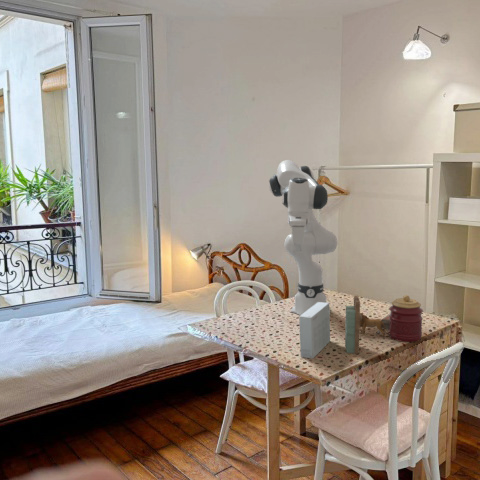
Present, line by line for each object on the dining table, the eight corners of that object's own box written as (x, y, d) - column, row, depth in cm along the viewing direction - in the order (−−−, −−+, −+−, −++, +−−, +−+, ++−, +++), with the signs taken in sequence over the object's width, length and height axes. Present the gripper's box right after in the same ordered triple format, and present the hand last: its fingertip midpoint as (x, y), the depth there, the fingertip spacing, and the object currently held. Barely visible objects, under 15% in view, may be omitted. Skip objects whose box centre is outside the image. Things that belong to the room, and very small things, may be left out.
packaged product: (399, 321, 213) (376, 318, 218) (399, 332, 214) (376, 328, 219) (412, 311, 227) (390, 307, 233) (411, 321, 228) (389, 318, 234)
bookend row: (345, 344, 199) (345, 295, 196) (356, 345, 199) (357, 295, 196) (346, 353, 190) (347, 301, 187) (358, 353, 190) (360, 302, 187)
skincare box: (317, 339, 206) (318, 301, 204) (330, 341, 204) (331, 302, 201) (298, 356, 188) (298, 315, 185) (312, 359, 185) (312, 317, 183)
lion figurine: (352, 334, 211) (352, 314, 209) (353, 330, 216) (353, 310, 214) (389, 337, 207) (389, 316, 205) (388, 333, 212) (389, 312, 210)
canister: (390, 342, 202) (392, 299, 199) (386, 331, 214) (387, 290, 212) (424, 343, 200) (426, 299, 197) (418, 332, 212) (419, 291, 210)
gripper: (291, 216, 212) (291, 248, 214) (289, 222, 192) (289, 257, 194) (306, 216, 211) (306, 248, 213) (306, 222, 191) (306, 258, 193)
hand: (298, 253), depth 204 cm, fingers open, 8 cm apart
